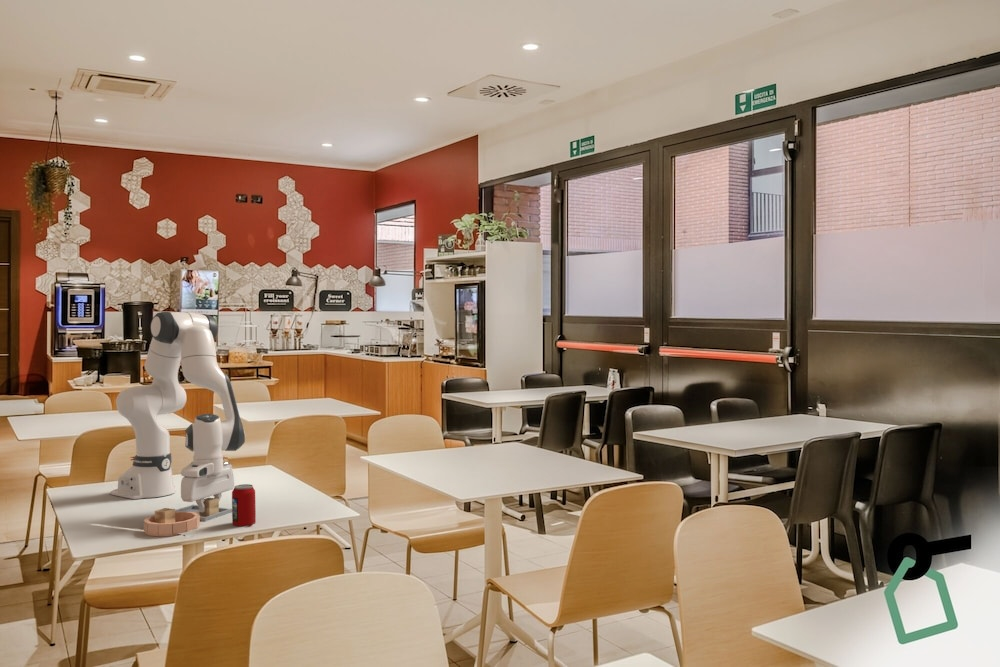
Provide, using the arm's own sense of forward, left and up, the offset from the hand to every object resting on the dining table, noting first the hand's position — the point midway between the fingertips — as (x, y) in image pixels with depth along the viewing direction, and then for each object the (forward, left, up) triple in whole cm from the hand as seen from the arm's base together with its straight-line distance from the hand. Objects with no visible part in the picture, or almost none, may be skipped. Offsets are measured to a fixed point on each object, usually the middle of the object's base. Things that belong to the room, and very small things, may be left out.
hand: (209, 509), depth 256 cm
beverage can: (+17, -4, -2) cm, 18 cm away
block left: (-3, -16, -2) cm, 16 cm away
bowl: (0, -16, -2) cm, 16 cm away
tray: (-4, 0, -2) cm, 5 cm away
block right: (0, 0, -2) cm, 2 cm away
